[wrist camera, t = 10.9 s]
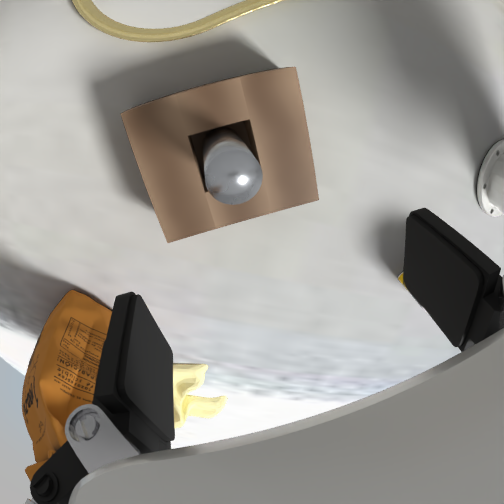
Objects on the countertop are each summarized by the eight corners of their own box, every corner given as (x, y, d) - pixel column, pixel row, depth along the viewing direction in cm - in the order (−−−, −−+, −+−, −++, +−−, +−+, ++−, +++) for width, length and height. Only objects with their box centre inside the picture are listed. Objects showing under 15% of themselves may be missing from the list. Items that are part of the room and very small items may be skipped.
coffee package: (33, 326, 36) (-11, 465, 17) (72, 275, 33) (15, 445, 14) (88, 362, 41) (69, 500, 22) (135, 320, 38) (123, 488, 19)
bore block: (279, 68, 26) (295, 66, 22) (301, 182, 32) (318, 200, 28) (131, 108, 25) (120, 113, 21) (170, 219, 32) (167, 243, 28)
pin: (236, 122, 27) (255, 143, 19) (245, 158, 29) (267, 196, 21) (197, 133, 27) (198, 159, 19) (208, 169, 29) (214, 211, 20)
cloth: (187, 343, 42) (189, 378, 37) (248, 399, 52) (254, 428, 47) (82, 388, 44) (77, 418, 39) (151, 433, 54) (151, 459, 49)
